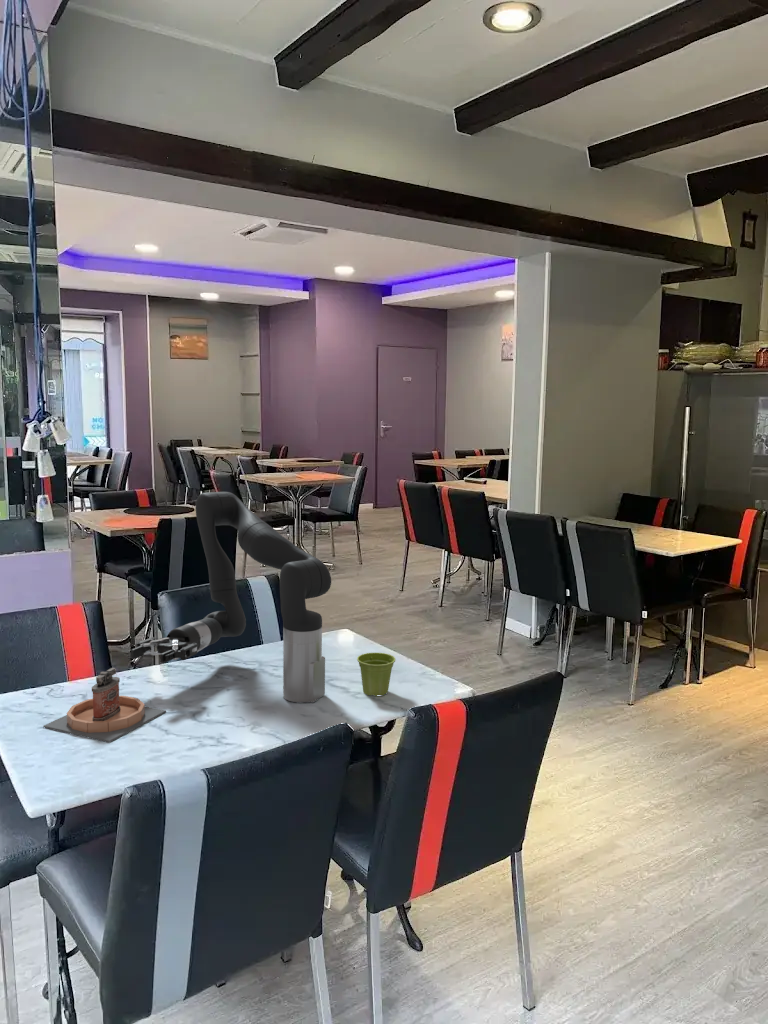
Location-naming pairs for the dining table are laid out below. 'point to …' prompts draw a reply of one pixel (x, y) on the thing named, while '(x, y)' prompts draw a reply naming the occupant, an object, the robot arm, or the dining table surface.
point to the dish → (128, 716)
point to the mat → (105, 736)
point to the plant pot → (375, 672)
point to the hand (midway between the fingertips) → (146, 656)
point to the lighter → (106, 696)
